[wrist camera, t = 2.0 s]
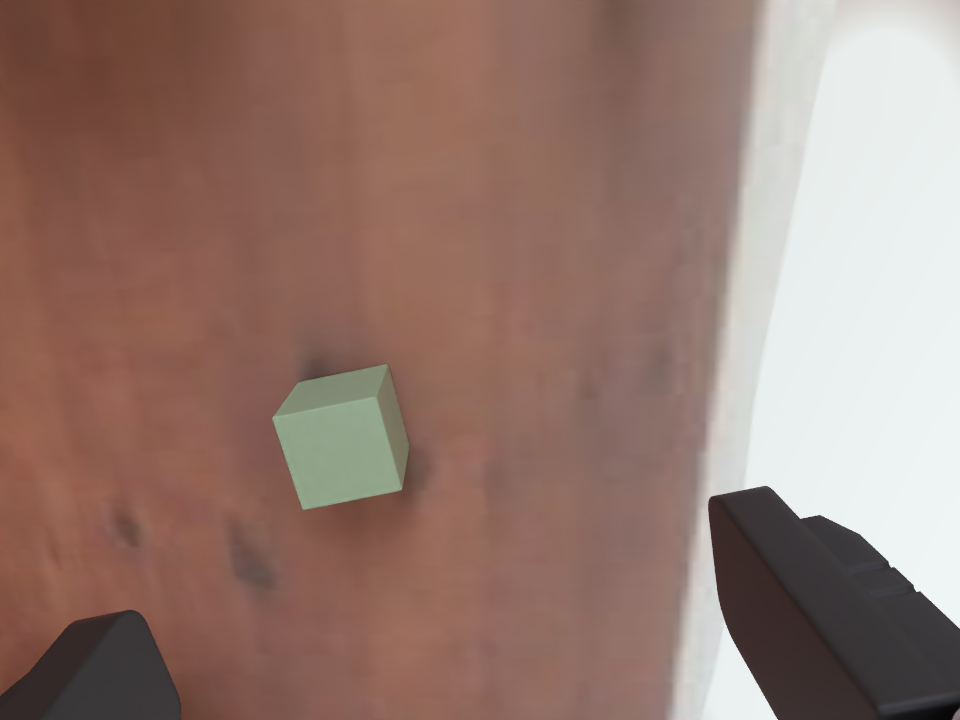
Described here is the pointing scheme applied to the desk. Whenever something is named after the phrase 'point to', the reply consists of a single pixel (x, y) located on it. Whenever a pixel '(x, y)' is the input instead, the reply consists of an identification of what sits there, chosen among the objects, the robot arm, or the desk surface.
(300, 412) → the block
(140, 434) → the desk surface
